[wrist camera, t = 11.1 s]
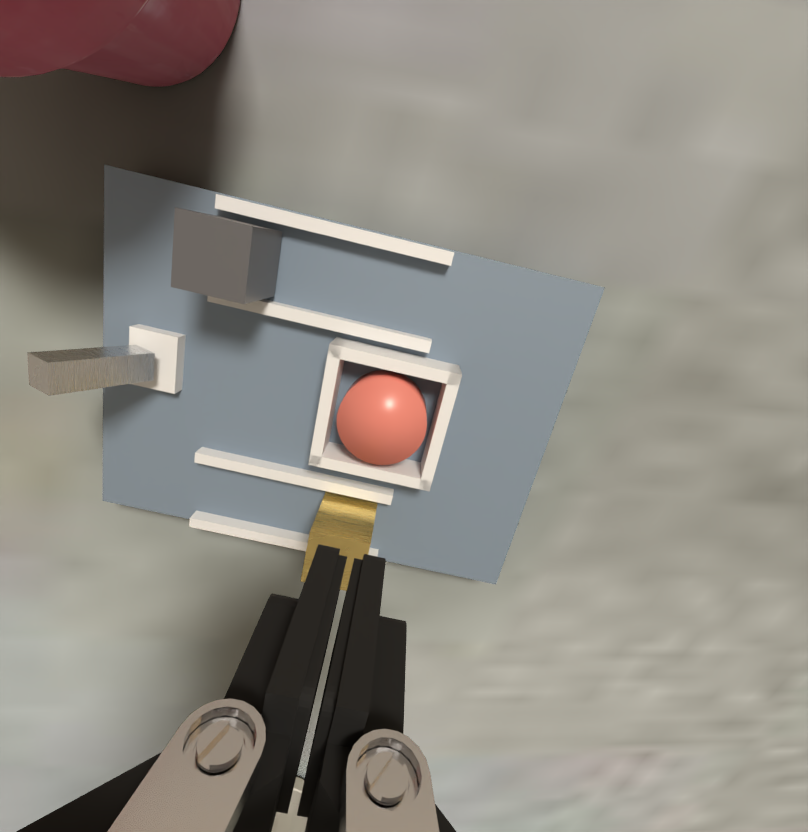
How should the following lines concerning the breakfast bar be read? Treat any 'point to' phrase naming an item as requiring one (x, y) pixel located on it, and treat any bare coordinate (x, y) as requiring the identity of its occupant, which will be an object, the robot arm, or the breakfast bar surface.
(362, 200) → the breakfast bar surface
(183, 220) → the slider gray
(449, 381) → the panel
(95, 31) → the plant pot
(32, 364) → the toggle
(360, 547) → the slider brass
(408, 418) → the button
